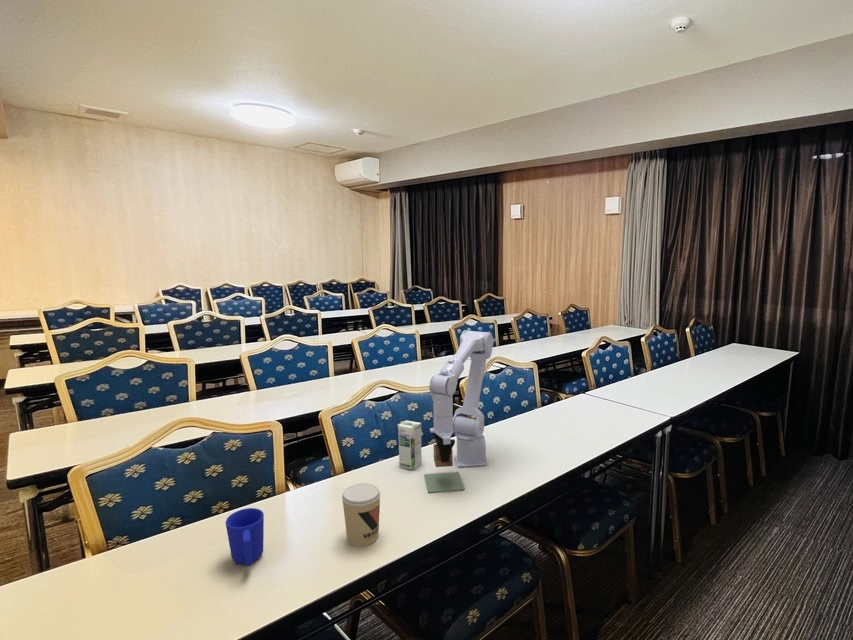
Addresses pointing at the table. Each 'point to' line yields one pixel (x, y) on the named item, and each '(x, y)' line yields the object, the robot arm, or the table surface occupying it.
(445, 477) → the green mat
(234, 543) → the mug
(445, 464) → the walnut block
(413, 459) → the syrup box
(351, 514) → the beige lidded canister
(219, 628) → the table surface
